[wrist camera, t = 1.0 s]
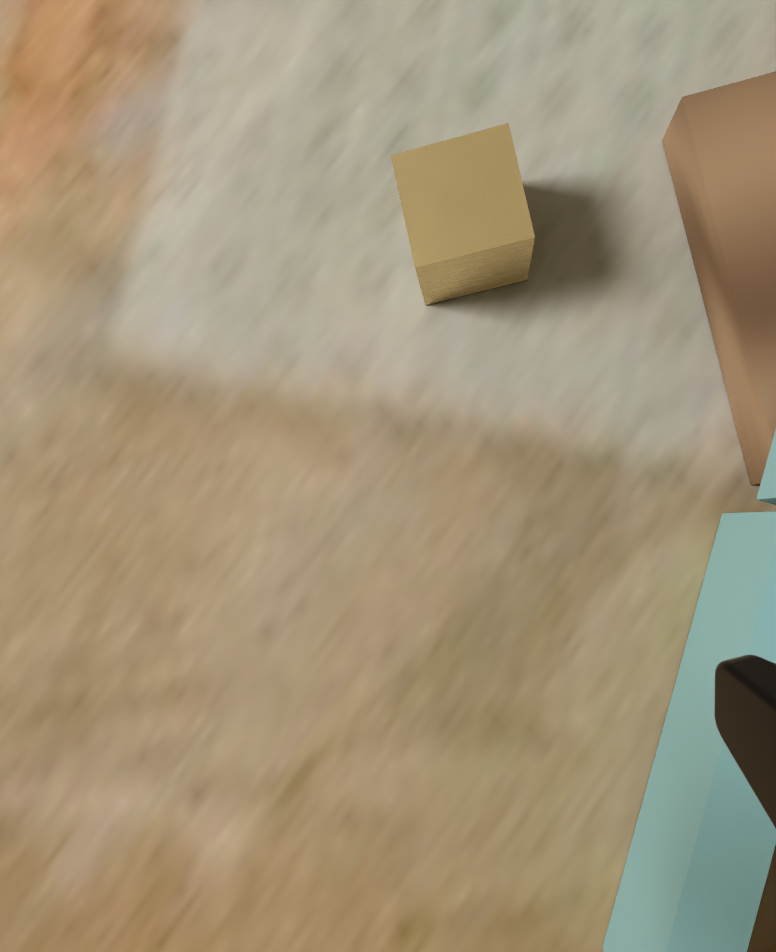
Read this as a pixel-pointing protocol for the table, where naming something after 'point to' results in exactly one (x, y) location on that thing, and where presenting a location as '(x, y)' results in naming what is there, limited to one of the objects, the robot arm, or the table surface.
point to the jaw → (706, 768)
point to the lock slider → (465, 214)
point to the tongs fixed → (734, 241)
